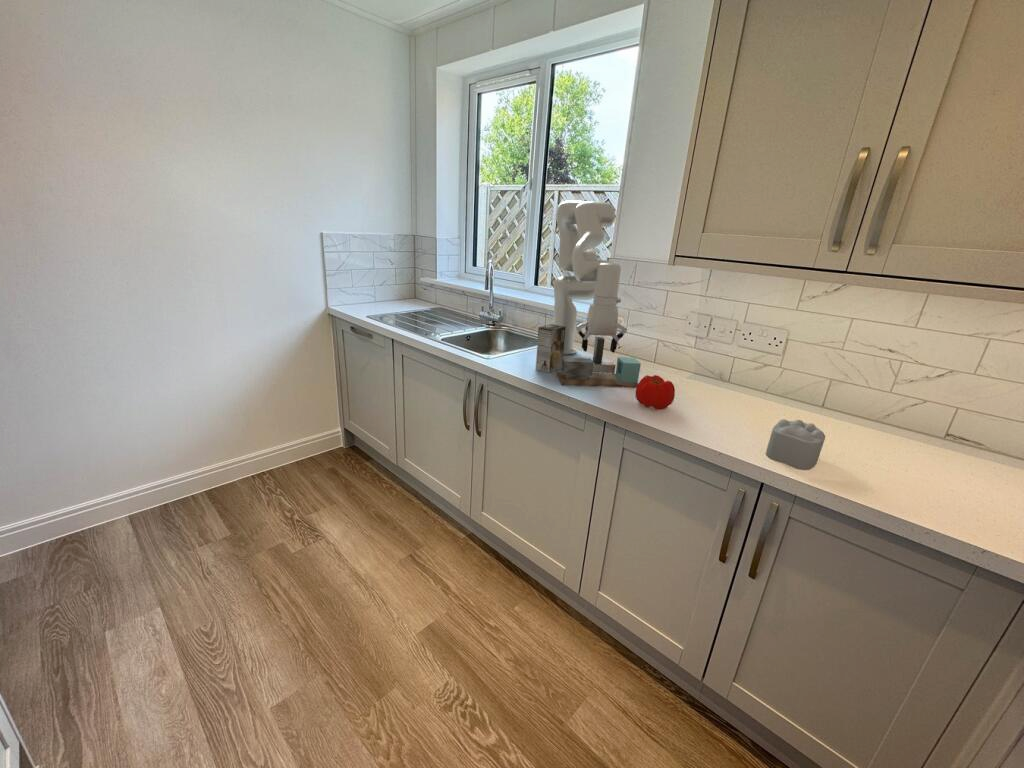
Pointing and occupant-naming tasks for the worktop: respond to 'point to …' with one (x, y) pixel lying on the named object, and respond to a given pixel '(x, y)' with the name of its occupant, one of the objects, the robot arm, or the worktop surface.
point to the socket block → (627, 369)
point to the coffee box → (550, 347)
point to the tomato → (655, 392)
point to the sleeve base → (596, 381)
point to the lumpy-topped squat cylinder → (795, 444)
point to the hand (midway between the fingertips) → (598, 351)
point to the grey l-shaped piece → (597, 358)
